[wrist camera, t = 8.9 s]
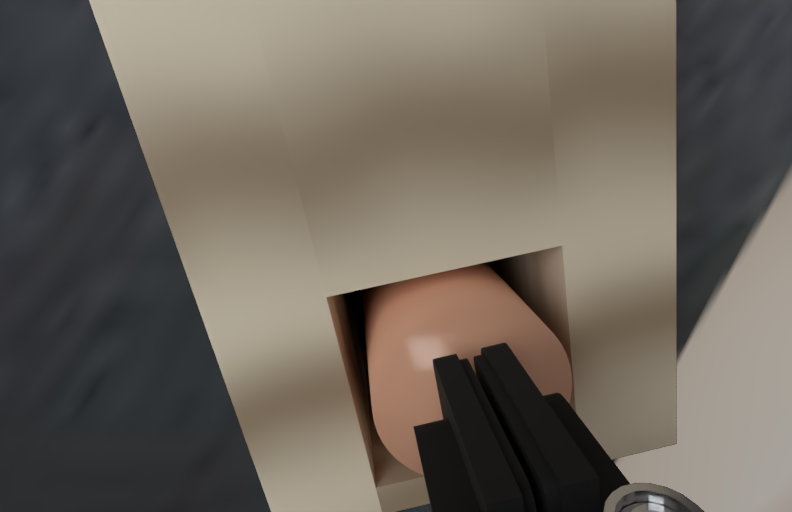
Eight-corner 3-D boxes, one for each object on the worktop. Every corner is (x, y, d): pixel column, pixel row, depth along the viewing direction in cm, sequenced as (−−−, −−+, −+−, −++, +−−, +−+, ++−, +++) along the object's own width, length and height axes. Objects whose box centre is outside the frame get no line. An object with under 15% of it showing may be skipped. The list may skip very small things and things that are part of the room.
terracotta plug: (348, 241, 18) (351, 330, 11) (476, 214, 18) (564, 283, 11) (375, 356, 19) (393, 501, 12) (492, 329, 19) (578, 456, 12)
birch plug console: (134, -188, 15) (-94, -513, 7) (507, -251, 15) (675, -618, 7) (303, 384, 21) (281, 539, 13) (559, 326, 22) (676, 444, 14)
